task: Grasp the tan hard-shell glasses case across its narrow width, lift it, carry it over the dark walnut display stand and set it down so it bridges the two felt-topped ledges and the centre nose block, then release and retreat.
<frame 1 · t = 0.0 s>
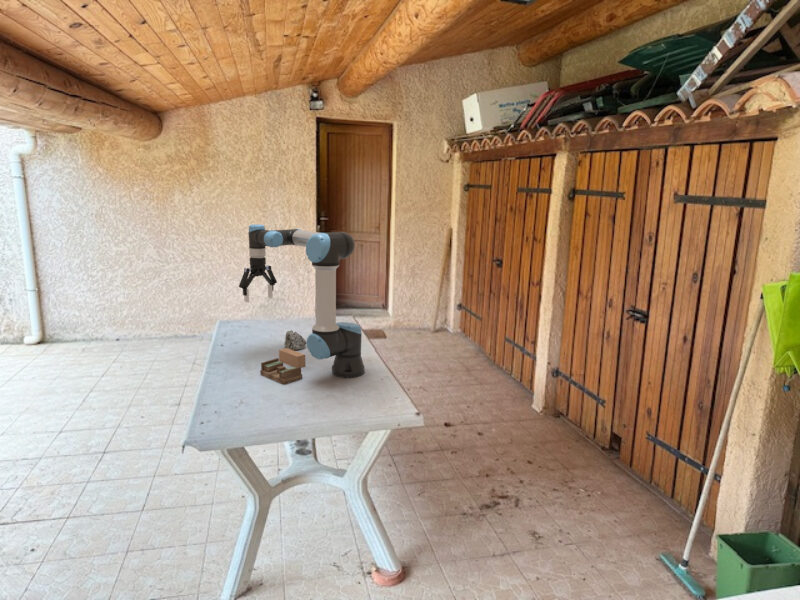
hand: (258, 299, 251), 28 cm above the table, fingers open, 13 cm apart
stand: (281, 376, 229), on the table
rock: (295, 348, 270), on the table
glasses case: (292, 364, 245), on the table
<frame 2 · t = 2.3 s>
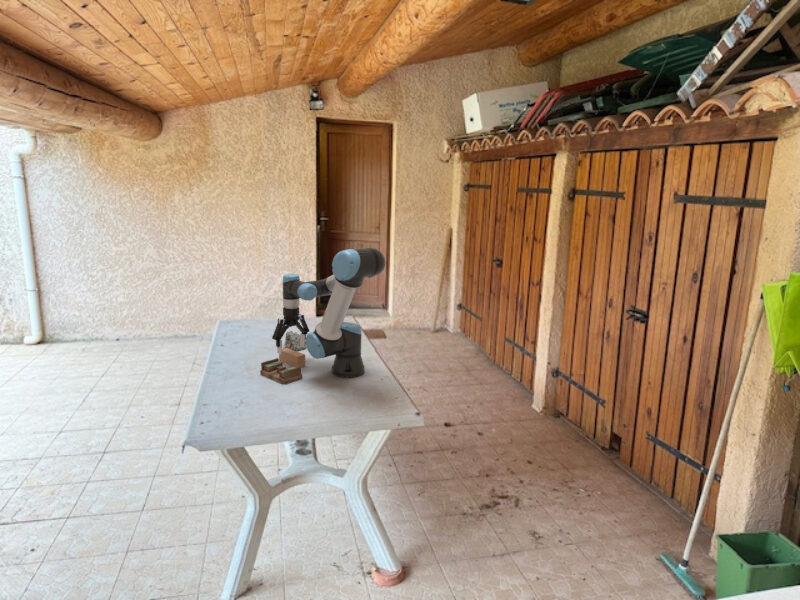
hand: (291, 350, 244), 7 cm above the table, fingers open, 13 cm apart
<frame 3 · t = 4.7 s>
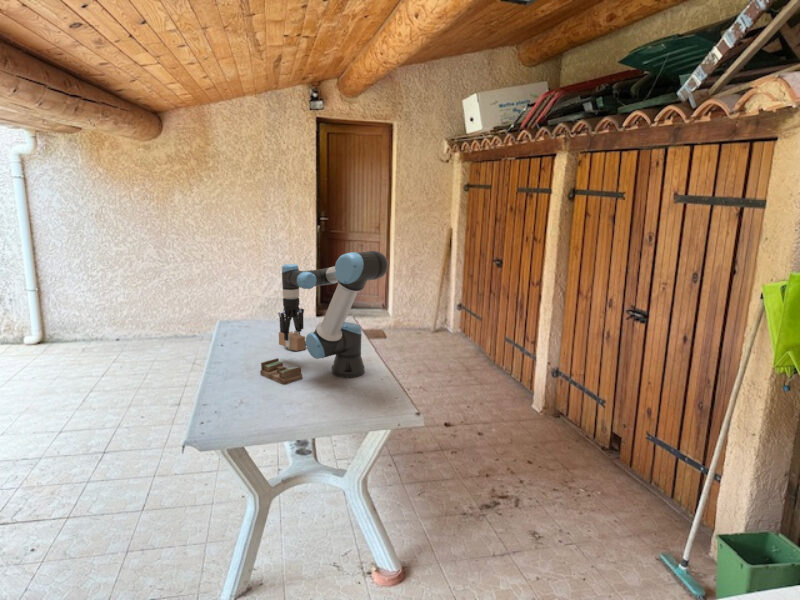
hand: (292, 345, 243), 9 cm above the table, fingers closed on glasses case, 4 cm apart
glasses case: (291, 346, 243), point 9 cm above the table, touching gripper
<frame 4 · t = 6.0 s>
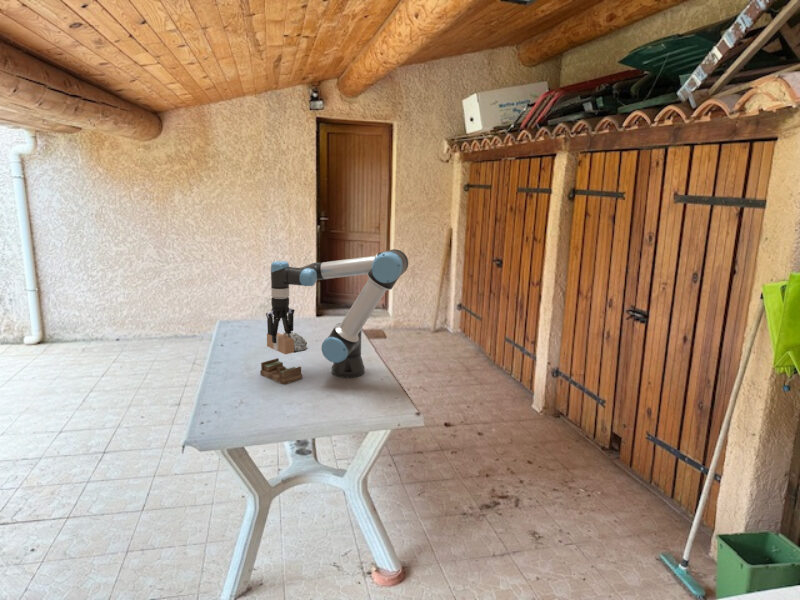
hand: (281, 348, 227), 13 cm above the table, fingers closed on glasses case, 4 cm apart
glasses case: (280, 349, 228), point 12 cm above the table, touching gripper
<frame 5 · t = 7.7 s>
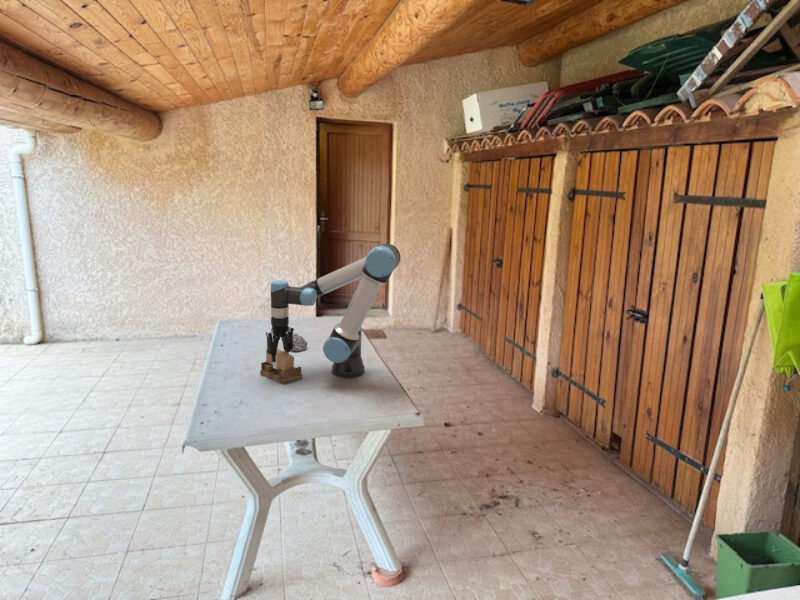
hand: (280, 366, 228), 5 cm above the table, fingers closed on glasses case, 5 cm apart
glasses case: (279, 365, 228), point 5 cm above the table, touching gripper, stand
when the fingers open (4 cm above the table, at t = 8.0 s): glasses case stays where it is, resting on stand.
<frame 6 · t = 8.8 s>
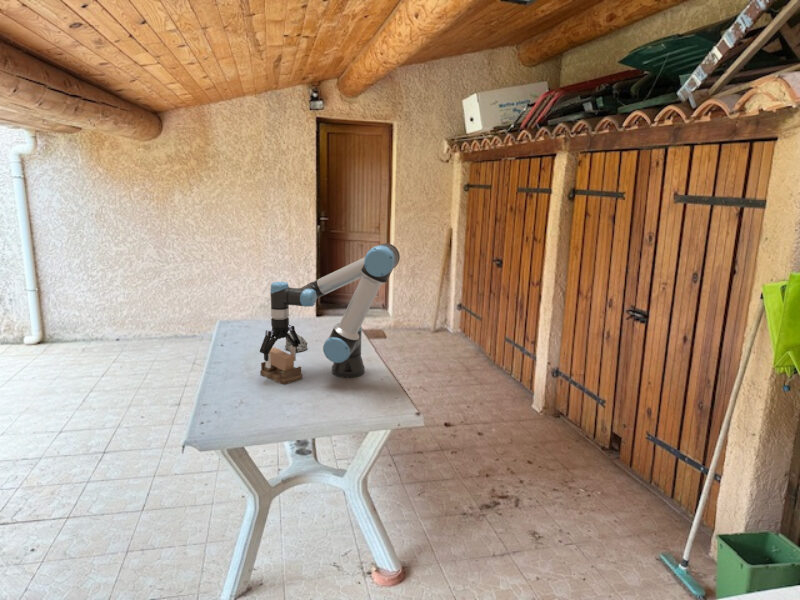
hand: (281, 363, 227), 6 cm above the table, fingers open, 13 cm apart
glasses case: (279, 365, 228), point 5 cm above the table, touching stand
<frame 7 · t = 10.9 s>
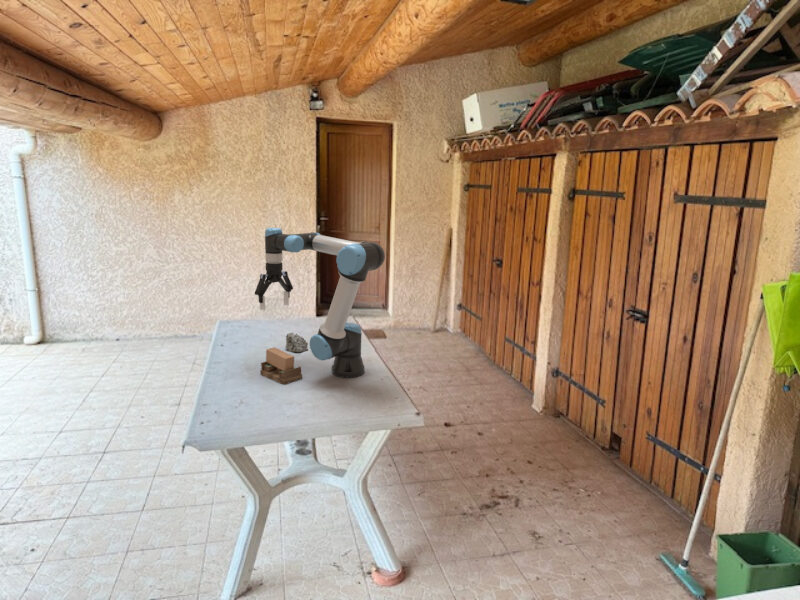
hand: (274, 307, 238), 28 cm above the table, fingers open, 13 cm apart
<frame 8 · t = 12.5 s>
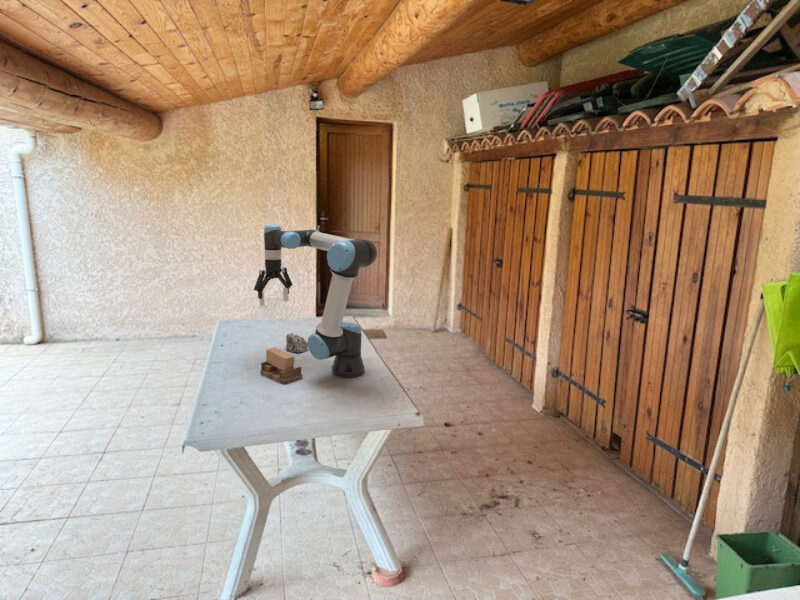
hand: (274, 303, 242), 29 cm above the table, fingers open, 13 cm apart
at the end: glasses case 0.8 cm off-centre on the stand, point 5.0 cm above the stand's base; glasses case touching stand; the gripper is holding nothing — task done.
